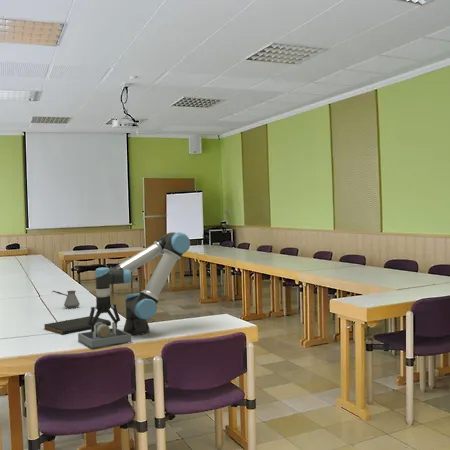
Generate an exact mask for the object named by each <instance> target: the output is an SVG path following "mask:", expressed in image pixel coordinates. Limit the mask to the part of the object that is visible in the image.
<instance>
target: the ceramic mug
mask: <svg viewBox="0 0 450 450" xmlns="http://www.w3.org/2000/svg"><path fill="white" fill-rule="evenodd" d="M94 326H96V336H98V337H100V338H106V337H108V336H109V335H112V336H113V335H114V333H113V332H111V331H110V329H111V328H110V326H107V325H105V324H104V323H102V322H98V323H96V324H95V325H94Z"/></svg>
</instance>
